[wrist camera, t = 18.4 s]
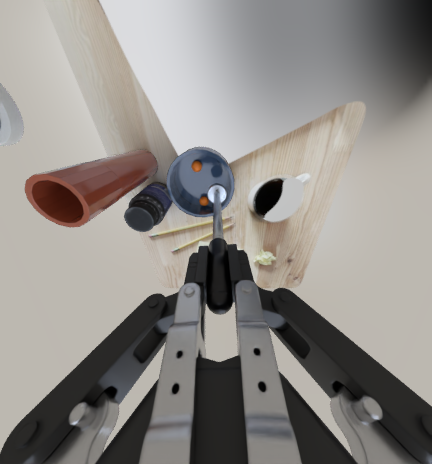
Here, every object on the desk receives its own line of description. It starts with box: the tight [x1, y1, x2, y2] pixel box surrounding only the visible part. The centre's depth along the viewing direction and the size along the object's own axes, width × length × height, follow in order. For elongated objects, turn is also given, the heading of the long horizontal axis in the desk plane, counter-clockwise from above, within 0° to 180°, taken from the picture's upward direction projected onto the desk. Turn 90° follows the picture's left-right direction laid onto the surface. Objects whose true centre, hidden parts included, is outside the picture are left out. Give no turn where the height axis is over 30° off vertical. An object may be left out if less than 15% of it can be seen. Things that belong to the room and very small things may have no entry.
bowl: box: [167, 147, 234, 217], centre depth 30 cm, size 12×12×5 cm
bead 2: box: [199, 196, 209, 206], centre depth 33 cm, size 2×2×2 cm
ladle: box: [206, 183, 233, 314], centre depth 17 cm, size 3×3×20 cm
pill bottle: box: [124, 182, 173, 232], centre depth 30 cm, size 6×6×11 cm
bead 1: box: [191, 161, 202, 172], centre depth 29 cm, size 2×2×2 cm
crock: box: [25, 149, 158, 227], centre depth 22 cm, size 5×5×20 cm
